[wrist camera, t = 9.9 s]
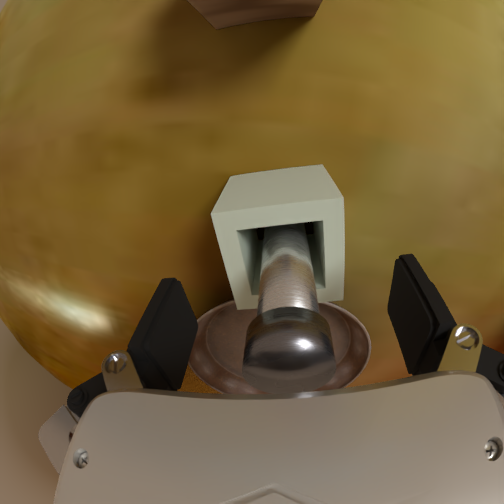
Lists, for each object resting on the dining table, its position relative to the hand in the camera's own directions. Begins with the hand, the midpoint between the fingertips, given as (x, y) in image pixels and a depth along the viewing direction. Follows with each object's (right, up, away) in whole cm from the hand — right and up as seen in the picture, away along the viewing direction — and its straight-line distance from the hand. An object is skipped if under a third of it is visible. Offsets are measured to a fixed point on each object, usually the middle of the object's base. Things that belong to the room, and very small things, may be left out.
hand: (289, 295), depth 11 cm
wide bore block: (+1, +4, +7) cm, 9 cm away
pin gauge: (+1, +5, +7) cm, 9 cm away
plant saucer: (+1, -7, +15) cm, 17 cm away
